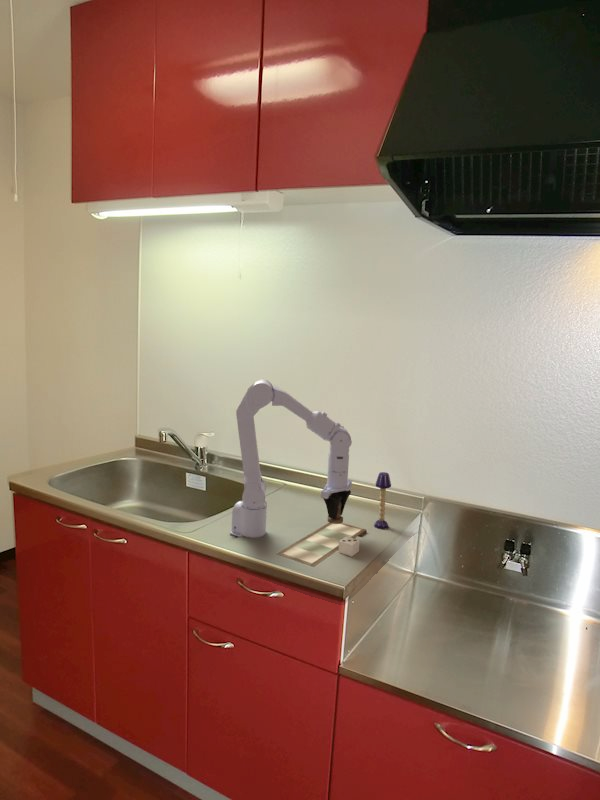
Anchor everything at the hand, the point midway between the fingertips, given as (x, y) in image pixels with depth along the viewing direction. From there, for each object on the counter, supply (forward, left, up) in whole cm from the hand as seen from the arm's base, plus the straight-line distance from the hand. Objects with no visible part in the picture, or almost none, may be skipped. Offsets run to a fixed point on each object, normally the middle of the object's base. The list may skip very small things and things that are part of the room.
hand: (335, 516), depth 148 cm
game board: (0, -6, -6) cm, 8 cm away
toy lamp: (+7, +17, -7) cm, 19 cm away
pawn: (0, 0, -1) cm, 1 cm away
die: (+8, -7, -6) cm, 13 cm away
